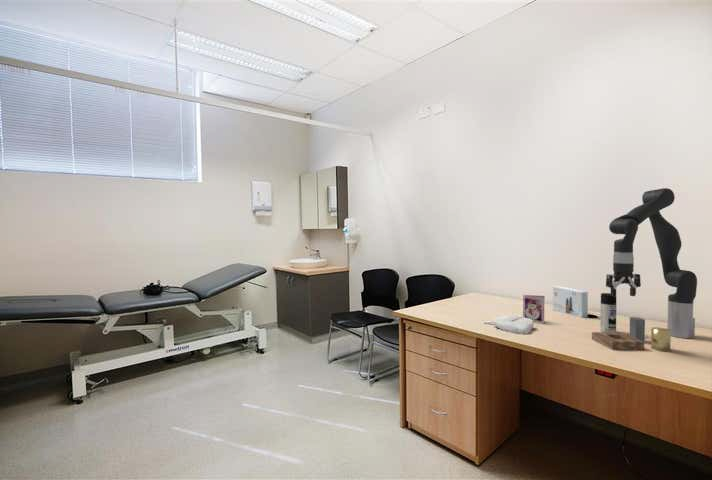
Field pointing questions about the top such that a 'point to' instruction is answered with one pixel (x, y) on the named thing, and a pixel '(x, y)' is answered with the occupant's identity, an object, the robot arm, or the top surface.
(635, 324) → the square bit
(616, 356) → the top surface
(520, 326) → the lung model
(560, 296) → the skincare box
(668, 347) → the cylinder
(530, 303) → the greeting card
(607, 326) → the spray can
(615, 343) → the bore block
